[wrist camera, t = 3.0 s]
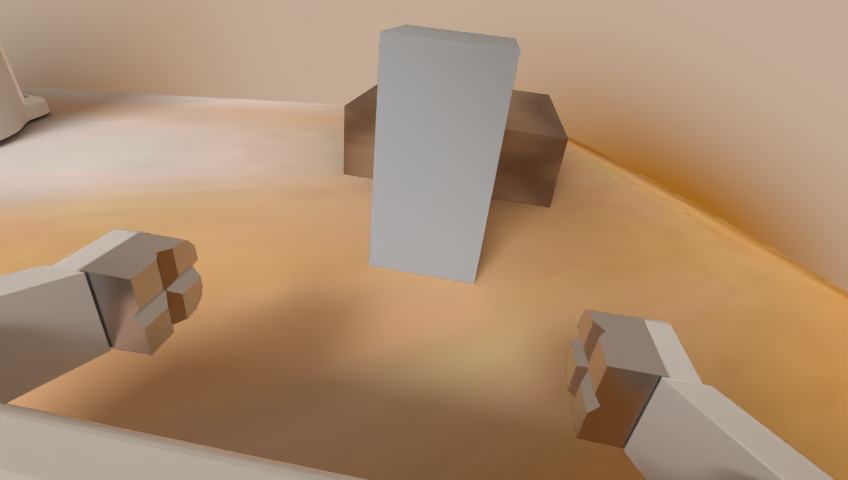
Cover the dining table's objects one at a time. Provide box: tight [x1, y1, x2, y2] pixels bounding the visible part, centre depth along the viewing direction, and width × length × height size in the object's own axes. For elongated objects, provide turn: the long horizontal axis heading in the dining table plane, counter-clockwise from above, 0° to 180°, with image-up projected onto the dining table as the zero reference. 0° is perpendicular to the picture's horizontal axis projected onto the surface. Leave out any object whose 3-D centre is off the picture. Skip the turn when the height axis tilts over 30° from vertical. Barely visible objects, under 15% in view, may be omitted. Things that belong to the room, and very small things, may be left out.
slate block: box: [369, 25, 520, 284], centre depth 20 cm, size 5×5×10 cm
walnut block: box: [344, 84, 568, 207], centre depth 34 cm, size 14×14×5 cm
